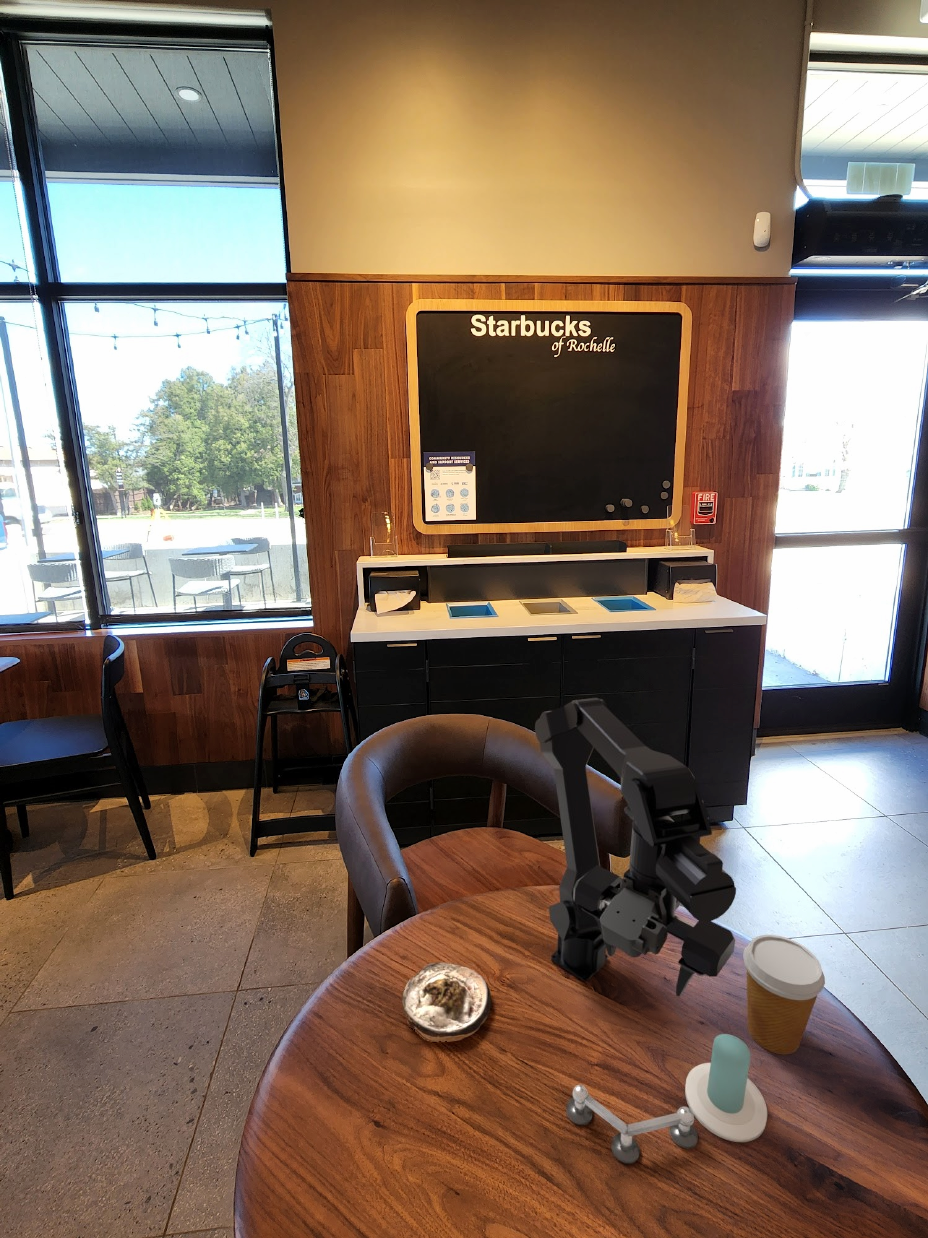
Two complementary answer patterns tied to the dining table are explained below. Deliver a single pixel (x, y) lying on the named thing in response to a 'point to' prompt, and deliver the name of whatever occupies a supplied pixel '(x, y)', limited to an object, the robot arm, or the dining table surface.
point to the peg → (728, 1073)
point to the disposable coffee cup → (780, 991)
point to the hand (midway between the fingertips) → (644, 973)
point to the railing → (631, 1125)
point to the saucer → (724, 1124)
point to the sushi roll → (446, 1002)
